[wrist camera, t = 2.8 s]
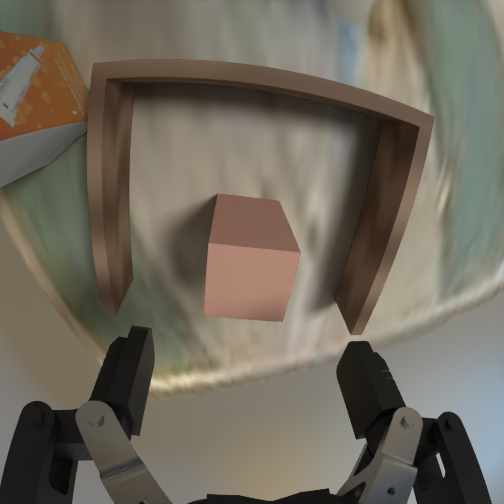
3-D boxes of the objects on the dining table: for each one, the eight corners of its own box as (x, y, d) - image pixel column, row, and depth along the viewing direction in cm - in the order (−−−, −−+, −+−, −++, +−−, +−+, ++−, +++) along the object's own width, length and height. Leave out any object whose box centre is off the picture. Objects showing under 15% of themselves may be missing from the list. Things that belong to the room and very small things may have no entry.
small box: (106, 118, 17) (-27, 153, 6) (50, 164, 18) (-67, 233, 7) (66, 41, 14) (-60, 24, 2) (15, 91, 15) (-104, 117, 3)
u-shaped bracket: (124, 70, 16) (93, 63, 11) (396, 111, 18) (434, 116, 14) (122, 277, 24) (103, 314, 19) (343, 298, 26) (361, 334, 22)
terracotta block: (217, 193, 21) (208, 243, 14) (279, 200, 21) (300, 252, 14) (212, 248, 23) (203, 315, 16) (269, 254, 23) (283, 321, 16)
